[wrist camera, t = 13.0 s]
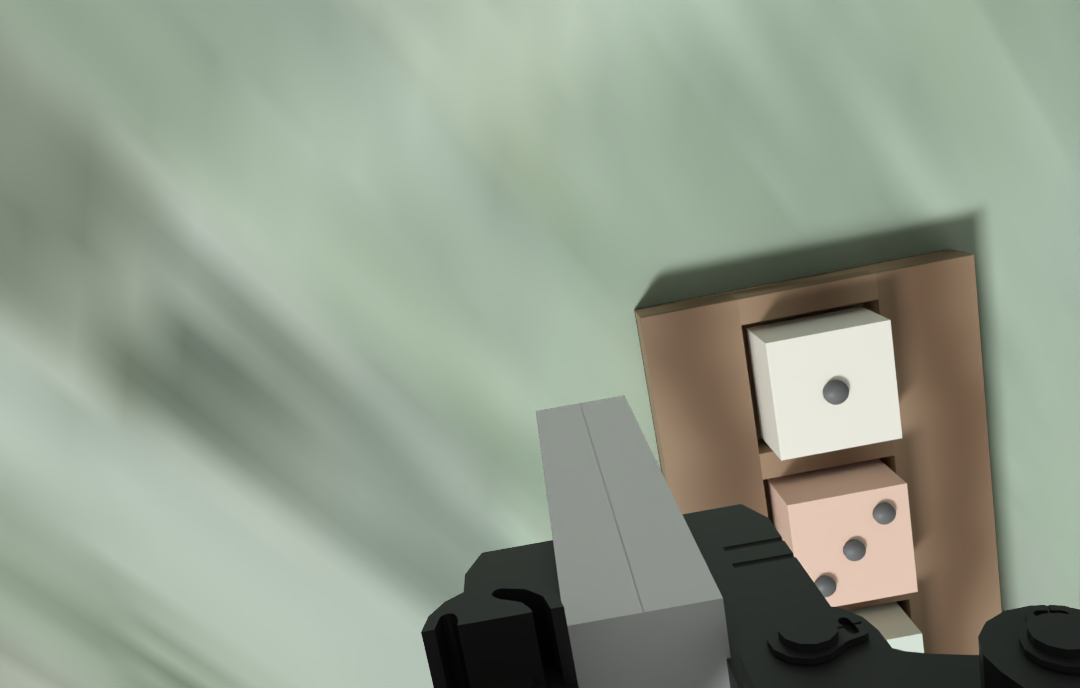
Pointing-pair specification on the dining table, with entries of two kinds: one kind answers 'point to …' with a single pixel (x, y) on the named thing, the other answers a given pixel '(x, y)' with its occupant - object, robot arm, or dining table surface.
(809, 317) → the tile one
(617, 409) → the robot arm
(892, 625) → the tile two
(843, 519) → the tile three
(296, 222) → the dining table surface
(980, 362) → the board
